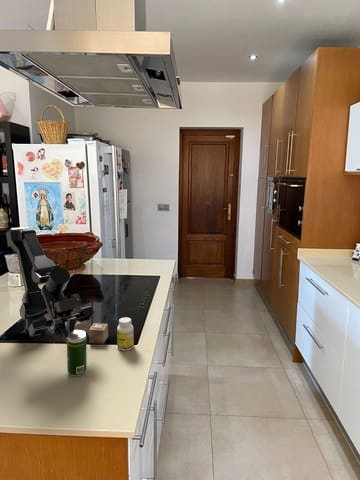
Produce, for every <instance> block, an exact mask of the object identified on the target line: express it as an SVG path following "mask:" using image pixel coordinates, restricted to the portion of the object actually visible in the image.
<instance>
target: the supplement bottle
mask: <svg viewBox="0 0 360 480" xmlns="http://www.w3.org/2000/svg"><path fill="white" fill-rule="evenodd" d="M134 335H135V334H134V325H133V324H132V319H131V318H130V317H127V316H125V317H121V318H119V320H118V325H117V328H116V337H117V338H116V345H117V349H118V350H120V351H129V350H132V349H133V348H134V344H135V343H134V342H135V341H134Z"/></svg>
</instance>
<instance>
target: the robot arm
mask: <svg viewBox="0 0 360 480" xmlns="http://www.w3.org/2000/svg"><path fill="white" fill-rule="evenodd" d="M8 230H9V231H8ZM8 230H7V231H6V233H5V235H6V240H7V242H9V246H10V248H11V249H12V250H13V251H14V252H15V253H16V255H17V260H18V264H19V269H20V273H21V279H22V282H23V287H24V293H23V295H22V299H21V301H22V303H21V305H20V307H19V310H18V311H19V316H20V317H21V318H22V319H23V320H24V326H25V327H24V328H25V329H24V330H22V331H21V334H22V333H23V334H27V335H29V336H30V337H36V336H40V335H42V333H43V332H45V331H47V330H49V328H50V329H51V330H50V333H51V334H54V335H56V336H58V338H60V339H61V340H63V342H65V343H66V344H67V337H68V333H70V332H71V331H74V326H75V324H76V323H77V321H78V322H84V321H89V320H91V318H92V317H93V316H94V314H95V313H96V312H95V308H94V307H93V306H92V305H87V306H82V307H80V308H79V309H78V310H77V312H74V311H75V310H76V309H77V306H79V305H81V304H82V301H81V297H80V295H79V293H76V294H73V295H70V298H68V297H67V296H65V295H64V290H65V289H66V287H67V285H68V283H69V281H70V279H71V275H70V274H71V273H70V272H69V271H68V270H67V269H66V268H64V267H61V266H60V264H55V262H54V261H53V260H52V259H50V258H49V257H47V254H45V251H44V249H43V247H42V245H41V243H40V241H39V239H38V236H37V231H36V229H35V228H30V227H29V226H20V227H19V226H18V227H10V228H9V229H8ZM41 284H42V285H43V286H42V287H41V288H40V286H39V285H41ZM74 309H75V310H74ZM73 312H74V313H73ZM45 315H49V316H50V318H51V319H49V320H47V318H46V317H45Z"/></svg>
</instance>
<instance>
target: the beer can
mask: <svg viewBox="0 0 360 480" xmlns="http://www.w3.org/2000/svg"><path fill="white" fill-rule="evenodd" d="M87 345H88V344H87V335H86V333H85V332H84V331H81V330H75V331H71V332H70V333H68V337H67V343H66V358H67V359H66V364H67V365H66V366H67V367H66V368H67V369H66V370H67V373H68V375H69V376H71V377H81V376H82V375H84V374H85V373H86V372H87V367H88V366H87V359H88V358H87V349H88V348H87Z"/></svg>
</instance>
